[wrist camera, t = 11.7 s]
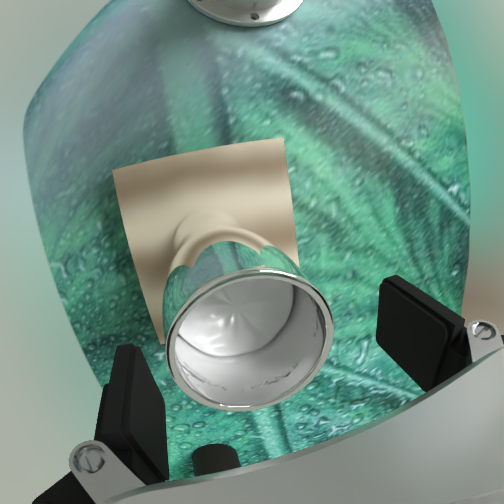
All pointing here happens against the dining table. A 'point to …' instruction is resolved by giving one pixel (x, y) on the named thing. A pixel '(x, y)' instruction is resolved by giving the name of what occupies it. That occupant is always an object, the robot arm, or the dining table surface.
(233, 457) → the bottle
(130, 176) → the plate
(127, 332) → the dining table surface
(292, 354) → the beer glass
